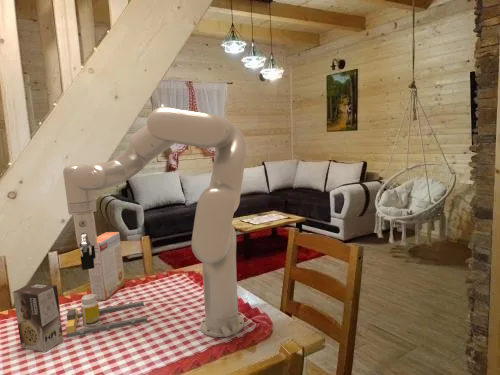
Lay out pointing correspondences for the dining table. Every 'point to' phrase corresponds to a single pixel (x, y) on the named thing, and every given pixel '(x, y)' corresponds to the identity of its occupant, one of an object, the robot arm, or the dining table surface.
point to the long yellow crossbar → (71, 320)
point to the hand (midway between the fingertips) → (89, 263)
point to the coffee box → (38, 316)
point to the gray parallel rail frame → (110, 325)
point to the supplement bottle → (90, 310)
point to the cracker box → (107, 266)
